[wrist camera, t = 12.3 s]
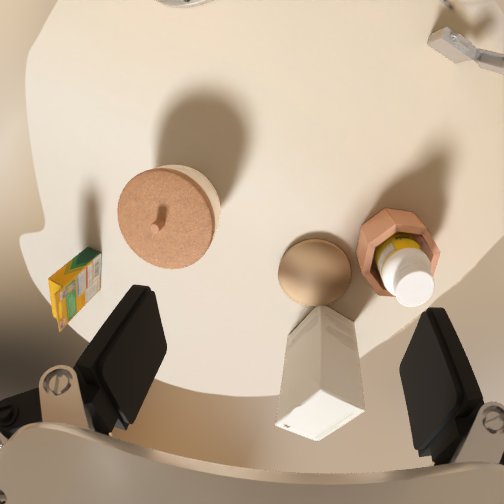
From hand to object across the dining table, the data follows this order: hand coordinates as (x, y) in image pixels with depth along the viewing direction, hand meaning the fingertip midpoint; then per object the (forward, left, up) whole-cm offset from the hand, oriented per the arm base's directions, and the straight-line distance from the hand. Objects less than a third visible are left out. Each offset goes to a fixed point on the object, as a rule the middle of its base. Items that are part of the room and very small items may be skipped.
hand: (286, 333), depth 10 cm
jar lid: (+12, +3, -26) cm, 29 cm away
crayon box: (+16, -30, -26) cm, 43 cm away
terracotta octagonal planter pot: (+7, +12, -26) cm, 29 cm away
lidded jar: (+4, -13, -26) cm, 30 cm away
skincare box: (+21, +5, -26) cm, 34 cm away
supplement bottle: (+7, +12, -25) cm, 29 cm away
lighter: (-17, +17, -26) cm, 35 cm away
